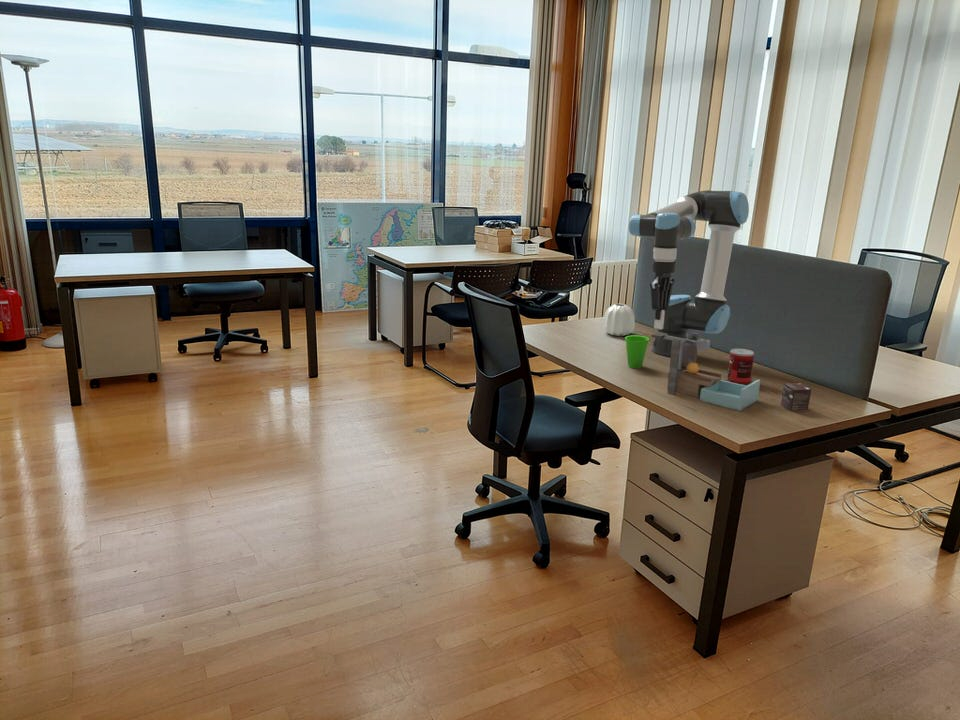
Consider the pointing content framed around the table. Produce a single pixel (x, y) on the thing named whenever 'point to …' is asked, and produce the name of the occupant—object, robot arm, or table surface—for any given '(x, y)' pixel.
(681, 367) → the lever
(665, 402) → the table surface
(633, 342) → the cup
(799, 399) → the box
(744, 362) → the canned food
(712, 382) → the grey angular frame
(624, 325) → the vase
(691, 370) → the ball
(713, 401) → the light blue tray
